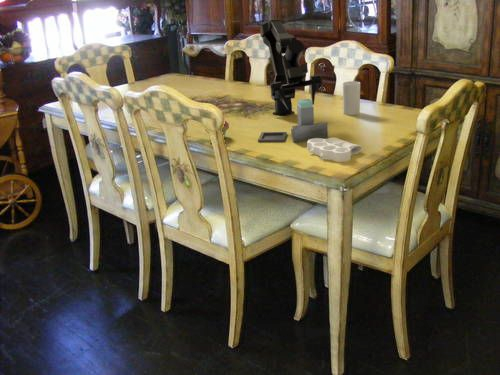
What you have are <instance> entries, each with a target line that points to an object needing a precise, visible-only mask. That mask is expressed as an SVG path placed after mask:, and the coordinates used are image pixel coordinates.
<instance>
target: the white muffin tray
mask: <svg viewBox="0 0 500 375" xmlns="http://www.w3.org/2000/svg"><path fill="white" fill-rule="evenodd" d="M306 146H307V148H306V150H307V151H308V153H309V154H313V155H315V156H318V157H319V158H320V159H321V160H327V161H328V160H329V161H333V162H336V163H344V162H345V163H346V162H349V161H350V160H351V156H353V155H358V154H359V153H360V152H361V151H362V150H363V148H362V146H361V145H359V144H355V143H352V142H349V141H347V140H343V139H340V138H338V137H335V136H334V137H328V139H321V138H315V139H310V140H308V141H306Z"/></svg>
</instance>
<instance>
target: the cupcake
mask: <svg viewBox="0 0 500 375" xmlns="http://www.w3.org/2000/svg"><path fill="white" fill-rule="evenodd" d="M215 106H216V104H214V107H215ZM216 107H217V106H216ZM228 129H230V124H229V122H227V120H225V124H224V127H223V128H222V132H223V135H224V138H225V136H226V133H227V130H228ZM205 131H206V132H207V133H208V134H209V132H208V131H207V130H206V129H205Z"/></svg>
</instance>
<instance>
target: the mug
mask: <svg viewBox="0 0 500 375" xmlns="http://www.w3.org/2000/svg"><path fill="white" fill-rule="evenodd" d="M342 106H343V107H342V110H343V111H342V112H343V115H345V116H357V115H359V114H360V106H361V82H360V81H357V80H355V81H354V80H352V81H351V80H349V81H344V82H342Z"/></svg>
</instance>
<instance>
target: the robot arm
mask: <svg viewBox="0 0 500 375" xmlns="http://www.w3.org/2000/svg"><path fill="white" fill-rule="evenodd" d="M259 34H260V38H261V39H262V42H263V44H264V45H265V46H266V47H268V50H269V51H268V52H269V54H270V58H271V64H272V69H273V73H274V80H273V82H272V83H270V85H269V87H270V88H269V89H270V90H269V91H270V96H271V99H272V100H273V101H274V111H273V112H272V114H273V115H277V116H282V117H285V116H288V115H292V114H294V113H295V111H294V110H293V102H292V99H295V97H296V89H297V88H301V87H308V86H309V87H310V97H311V101H312V102H313V106H314V105H315V97H316V92H317V91H318V90H320V89H321V88H322V87H323V76H322V75H321V74H315V75H310V77H309V79H308V80H307V79H306V80H304V78H305V77H304V74H307V73H308V72H309V70H308V65H307V63H302V64H301V65H300V61H299V60H301V57H302V55H303V51H304V48H305V46H304V44H303V42H302V41H301V40H298V38H297V37H296V36H294V35H293V34H290V33H288V32H287V30H286V28H285V26H284V25H283V21H282V19H281V18H273V19H269V20H268V21H267V22H266V23H264V24H262V25H261V26H260V29H259Z"/></svg>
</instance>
